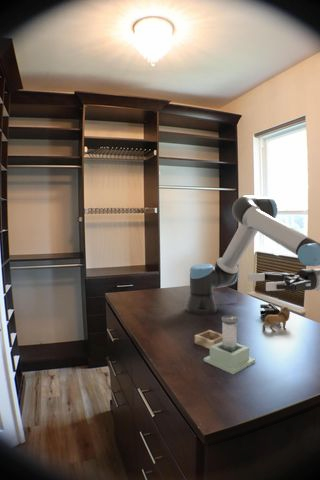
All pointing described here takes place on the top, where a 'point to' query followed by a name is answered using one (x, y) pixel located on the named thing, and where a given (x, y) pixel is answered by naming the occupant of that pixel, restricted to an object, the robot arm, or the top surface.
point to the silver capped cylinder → (229, 333)
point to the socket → (229, 358)
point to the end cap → (268, 310)
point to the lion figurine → (277, 319)
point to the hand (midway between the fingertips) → (256, 281)
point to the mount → (208, 338)
